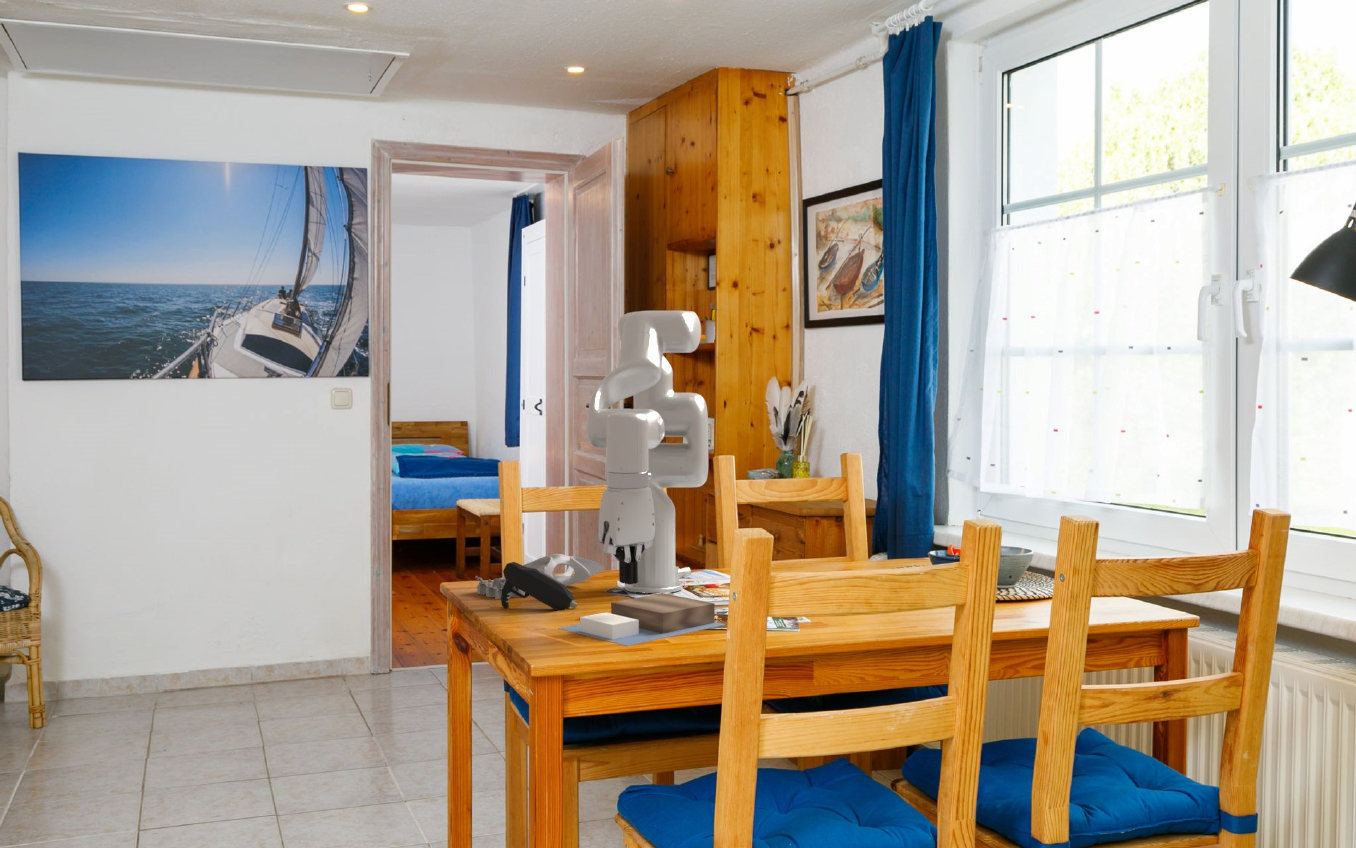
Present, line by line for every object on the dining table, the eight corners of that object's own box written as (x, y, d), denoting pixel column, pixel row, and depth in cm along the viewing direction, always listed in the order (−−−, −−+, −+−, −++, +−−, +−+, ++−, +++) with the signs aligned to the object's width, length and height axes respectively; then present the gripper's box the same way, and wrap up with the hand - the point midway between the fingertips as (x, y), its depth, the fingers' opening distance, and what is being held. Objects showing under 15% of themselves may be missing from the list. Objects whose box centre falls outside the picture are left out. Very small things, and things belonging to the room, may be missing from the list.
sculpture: (558, 595, 236) (558, 565, 236) (500, 583, 250) (500, 555, 249) (619, 584, 248) (619, 556, 248) (561, 574, 262) (561, 547, 262)
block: (662, 611, 215) (662, 593, 215) (714, 622, 205) (714, 603, 205) (611, 621, 206) (611, 602, 206) (662, 633, 196) (662, 613, 196)
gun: (557, 640, 218) (580, 596, 217) (487, 599, 221) (509, 555, 220) (561, 637, 221) (584, 593, 220) (492, 597, 223) (514, 553, 222)
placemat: (655, 611, 217) (655, 609, 217) (726, 626, 204) (726, 624, 204) (557, 630, 201) (557, 628, 201) (627, 648, 187) (627, 645, 187)
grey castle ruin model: (472, 594, 237) (472, 575, 237) (503, 590, 242) (502, 571, 242) (498, 601, 229) (498, 581, 229) (529, 597, 234) (529, 577, 234)
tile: (579, 617, 198) (580, 631, 198) (612, 625, 192) (612, 639, 192) (606, 612, 202) (606, 626, 203) (638, 619, 196) (638, 634, 196)
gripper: (644, 476, 207) (645, 574, 208) (581, 483, 197) (582, 586, 198) (672, 479, 202) (673, 579, 203) (609, 487, 191) (610, 592, 193)
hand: (628, 582), depth 200 cm, fingers closed
